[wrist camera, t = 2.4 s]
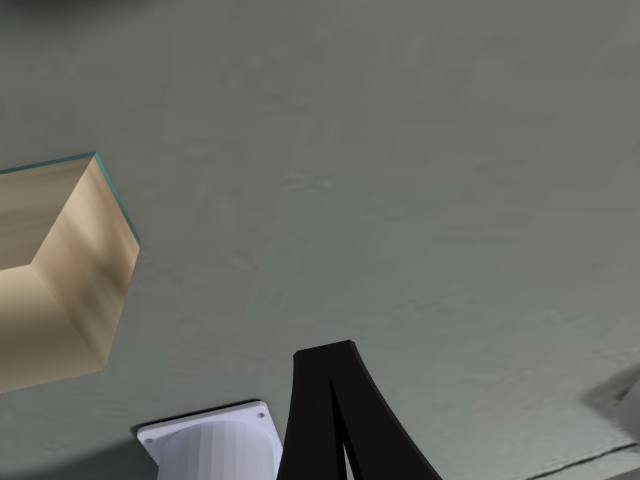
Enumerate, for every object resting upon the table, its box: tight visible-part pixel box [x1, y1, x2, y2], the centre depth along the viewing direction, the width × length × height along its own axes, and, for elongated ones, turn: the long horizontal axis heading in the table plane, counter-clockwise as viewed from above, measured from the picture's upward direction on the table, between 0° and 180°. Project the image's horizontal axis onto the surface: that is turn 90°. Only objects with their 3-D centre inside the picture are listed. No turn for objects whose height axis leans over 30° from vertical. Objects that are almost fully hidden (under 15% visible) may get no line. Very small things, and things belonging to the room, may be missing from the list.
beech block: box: [0, 152, 141, 393], centre depth 16 cm, size 4×4×7 cm
